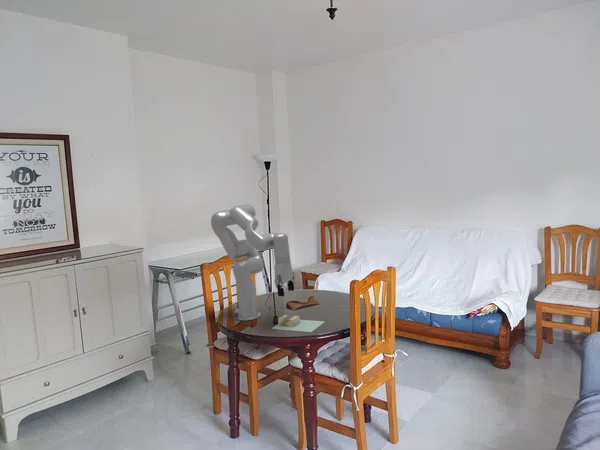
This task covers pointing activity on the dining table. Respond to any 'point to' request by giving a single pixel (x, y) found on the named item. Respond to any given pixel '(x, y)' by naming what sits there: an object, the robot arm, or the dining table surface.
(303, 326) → the mat
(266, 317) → the dining table surface
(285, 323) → the card box
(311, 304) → the sunglasses case
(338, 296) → the dining table surface
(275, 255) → the robot arm
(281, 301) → the dining table surface
